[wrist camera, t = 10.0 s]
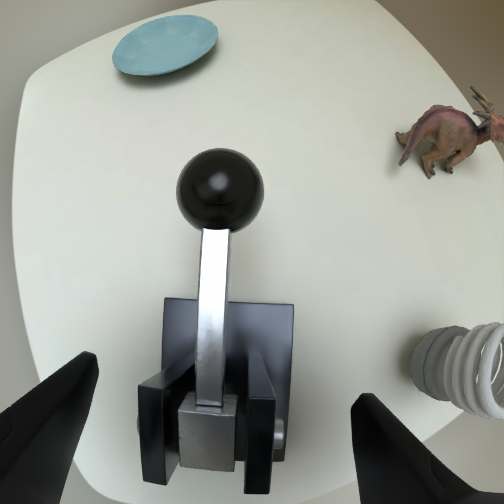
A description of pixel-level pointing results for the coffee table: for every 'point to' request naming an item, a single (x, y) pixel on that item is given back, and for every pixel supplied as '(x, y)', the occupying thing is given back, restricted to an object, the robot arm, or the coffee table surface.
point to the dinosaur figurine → (452, 133)
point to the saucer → (164, 45)
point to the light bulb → (462, 368)
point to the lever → (214, 299)
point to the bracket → (236, 383)
